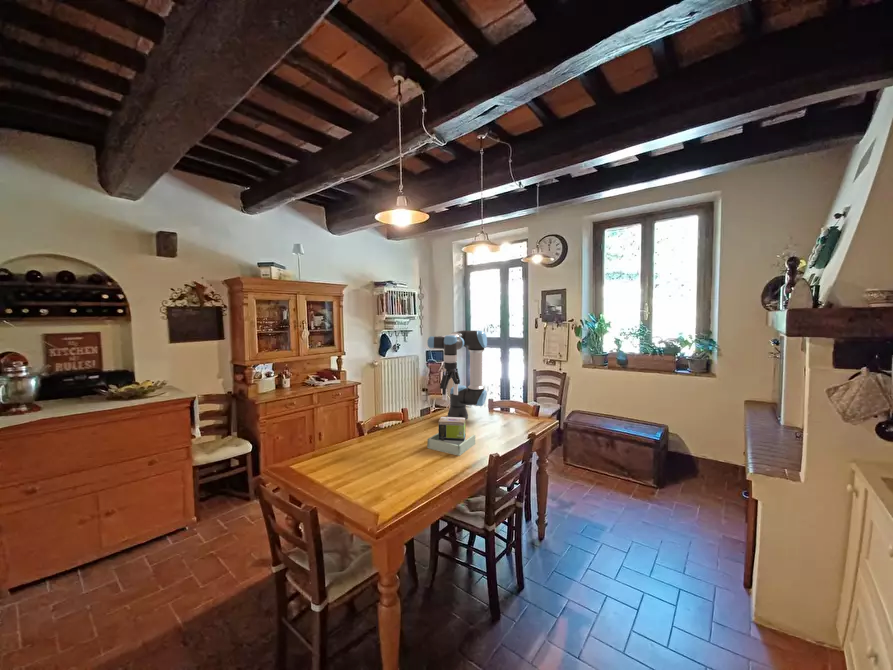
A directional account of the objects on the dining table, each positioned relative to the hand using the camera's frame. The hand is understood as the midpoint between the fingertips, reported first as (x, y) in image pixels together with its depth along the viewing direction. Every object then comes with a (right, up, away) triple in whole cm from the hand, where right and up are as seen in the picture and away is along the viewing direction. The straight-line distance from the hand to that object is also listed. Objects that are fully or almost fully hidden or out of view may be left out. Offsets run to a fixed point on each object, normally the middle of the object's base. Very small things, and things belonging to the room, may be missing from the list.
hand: (450, 397), depth 215 cm
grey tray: (+1, -29, -1) cm, 29 cm away
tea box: (+1, -27, 0) cm, 27 cm away
